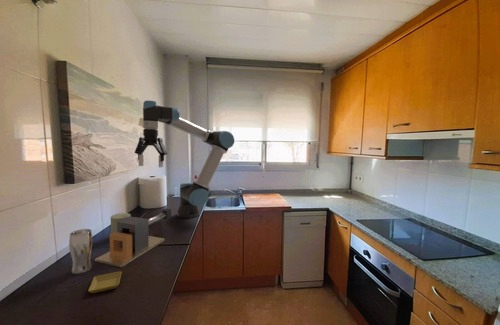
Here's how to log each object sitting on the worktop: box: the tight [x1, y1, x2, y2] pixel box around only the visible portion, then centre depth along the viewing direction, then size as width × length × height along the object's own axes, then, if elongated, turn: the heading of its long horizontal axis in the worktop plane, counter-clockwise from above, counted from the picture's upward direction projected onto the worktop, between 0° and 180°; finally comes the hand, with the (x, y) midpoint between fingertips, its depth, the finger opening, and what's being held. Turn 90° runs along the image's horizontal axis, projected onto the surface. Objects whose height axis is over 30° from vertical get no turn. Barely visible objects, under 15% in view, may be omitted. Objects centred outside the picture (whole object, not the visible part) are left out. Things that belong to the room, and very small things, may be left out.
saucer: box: [87, 271, 122, 294], centre depth 74 cm, size 9×9×2 cm
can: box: [109, 212, 132, 234], centre depth 112 cm, size 9×9×12 cm
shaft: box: [147, 208, 172, 226], centre depth 111 cm, size 27×3×5 cm, turn 164°
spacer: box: [109, 232, 132, 258], centre depth 93 cm, size 3×9×9 cm, turn 74°
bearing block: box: [94, 216, 165, 268], centre depth 99 cm, size 26×14×14 cm, turn 164°
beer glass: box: [68, 228, 93, 275], centre depth 82 cm, size 7×7×15 cm
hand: (150, 166), depth 122 cm, fingers open, 13 cm apart
